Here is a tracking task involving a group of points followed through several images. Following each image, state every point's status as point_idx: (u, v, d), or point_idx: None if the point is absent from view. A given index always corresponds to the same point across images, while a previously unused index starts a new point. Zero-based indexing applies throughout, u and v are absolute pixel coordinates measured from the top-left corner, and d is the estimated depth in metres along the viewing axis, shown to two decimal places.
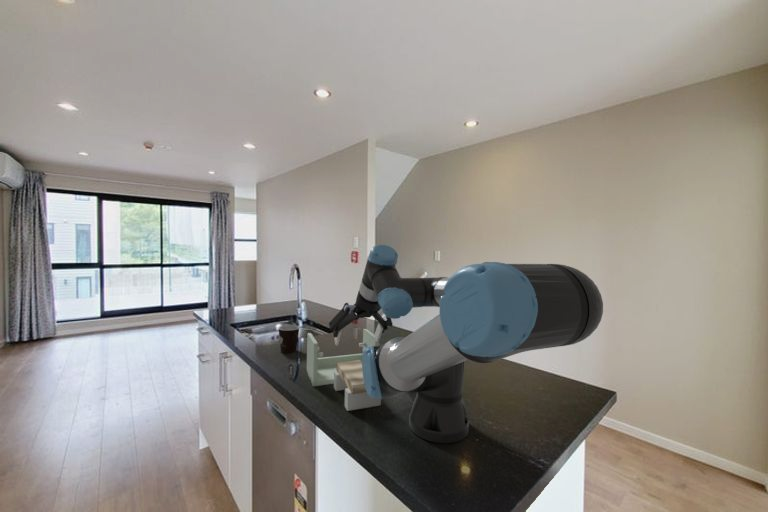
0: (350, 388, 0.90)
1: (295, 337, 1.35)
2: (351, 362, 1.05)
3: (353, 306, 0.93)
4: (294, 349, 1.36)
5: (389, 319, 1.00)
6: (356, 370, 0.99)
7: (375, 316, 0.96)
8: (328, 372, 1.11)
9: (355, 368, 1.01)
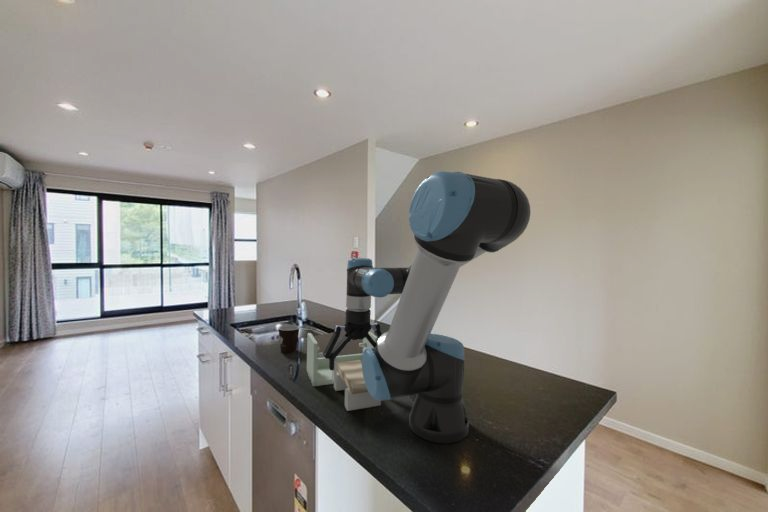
0: (350, 388, 0.90)
1: (295, 337, 1.35)
2: (351, 362, 1.05)
3: (343, 326, 0.96)
4: (294, 349, 1.36)
5: None
6: (356, 370, 0.99)
7: (367, 336, 0.97)
8: (328, 372, 1.11)
9: (355, 368, 1.01)
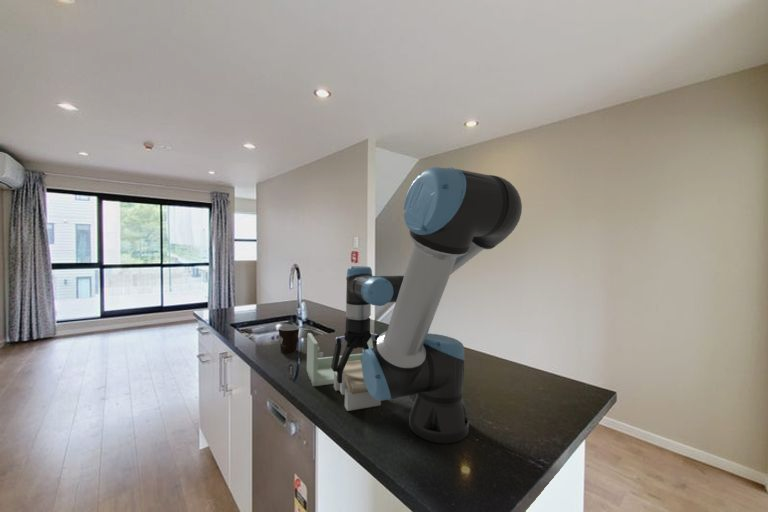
0: (350, 388, 0.90)
1: (295, 337, 1.35)
2: (351, 362, 1.05)
3: None
4: (294, 349, 1.36)
5: None
6: (356, 370, 0.99)
7: (366, 345, 0.97)
8: (328, 372, 1.11)
9: (355, 367, 1.01)
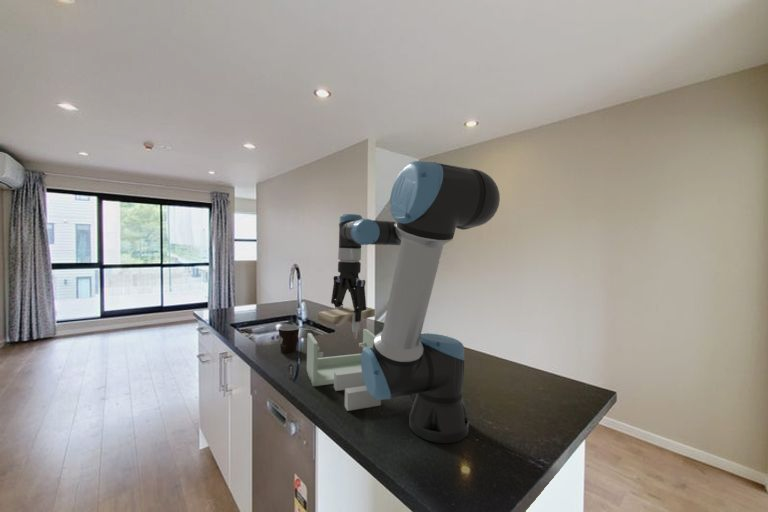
0: None
1: (295, 337, 1.35)
2: None
3: None
4: (294, 349, 1.36)
5: (358, 299, 1.02)
6: (350, 310, 1.08)
7: (349, 287, 1.05)
8: (328, 372, 1.11)
9: None
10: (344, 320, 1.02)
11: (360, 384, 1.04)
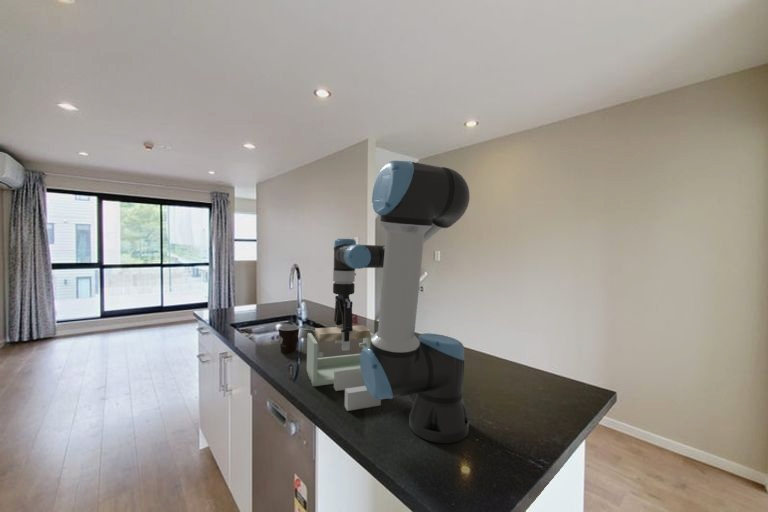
0: None
1: (295, 337, 1.35)
2: (362, 328, 1.16)
3: None
4: (294, 349, 1.36)
5: (344, 320, 1.07)
6: None
7: (340, 307, 1.10)
8: (328, 372, 1.11)
9: None
10: (332, 339, 1.08)
11: (360, 384, 1.04)
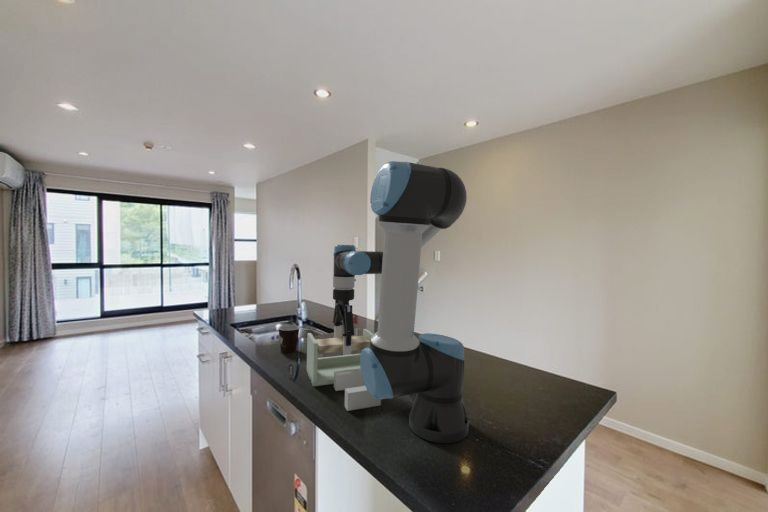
0: None
1: (295, 337, 1.35)
2: (362, 339, 1.16)
3: None
4: (294, 349, 1.36)
5: (345, 324, 1.05)
6: None
7: (340, 313, 1.10)
8: (328, 372, 1.11)
9: None
10: (332, 350, 1.08)
11: (360, 384, 1.04)
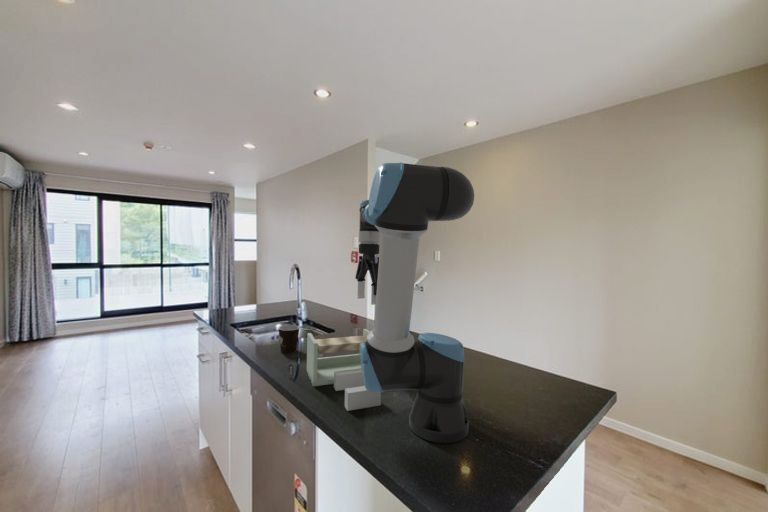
0: None
1: (295, 337, 1.35)
2: (362, 339, 1.16)
3: None
4: (294, 349, 1.36)
5: (374, 274, 1.09)
6: (345, 340, 1.14)
7: (367, 266, 1.14)
8: (328, 372, 1.11)
9: (350, 340, 1.14)
10: (332, 350, 1.08)
11: (360, 384, 1.04)
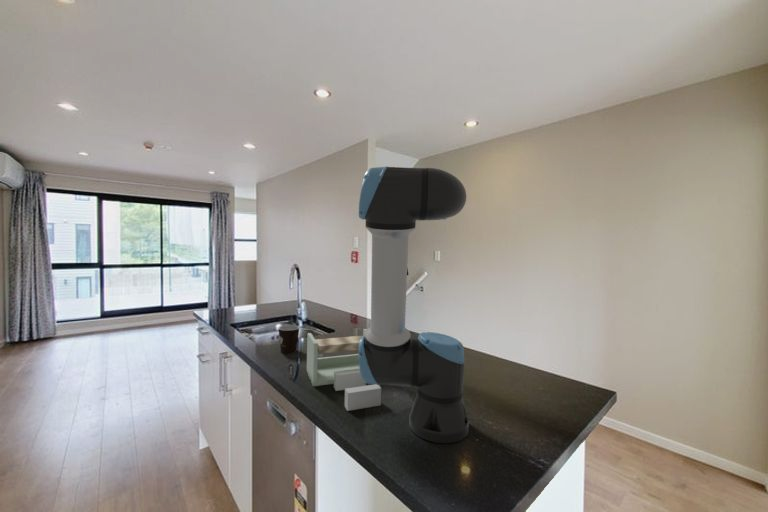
0: None
1: (295, 337, 1.35)
2: None
3: None
4: (294, 349, 1.36)
5: None
6: (345, 340, 1.14)
7: None
8: (328, 372, 1.11)
9: (350, 340, 1.14)
10: (332, 350, 1.08)
11: (360, 384, 1.04)
